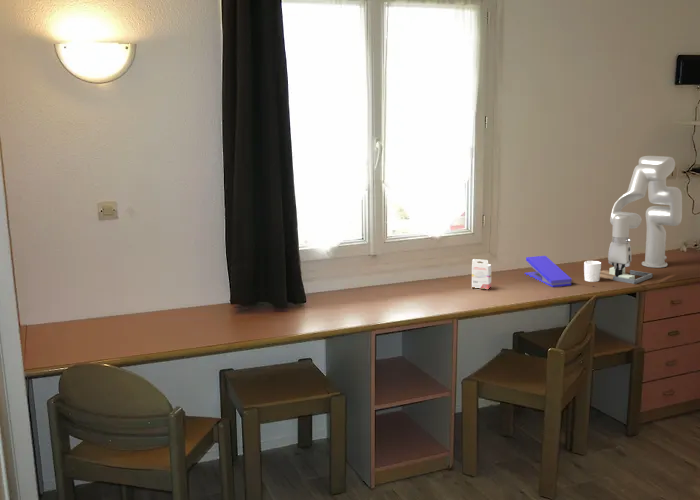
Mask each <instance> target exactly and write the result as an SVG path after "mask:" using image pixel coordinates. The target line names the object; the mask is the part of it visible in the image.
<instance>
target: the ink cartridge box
mask: <svg viewBox="0 0 700 500" xmlns="http://www.w3.org/2000/svg"><path fill="white" fill-rule="evenodd" d="M480 262H481V263H480ZM472 287H475V288H485V289H489V288H490V287H491V288H492V264H489V260H488V259H479V258H478V259H476V258H473V259H472V260H471V288H472ZM491 288H490V289H491ZM490 289H489V290H490Z"/></svg>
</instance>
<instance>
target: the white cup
mask: <svg viewBox="0 0 700 500" xmlns="http://www.w3.org/2000/svg"><path fill="white" fill-rule="evenodd" d="M601 268H602V261H599V260H586V261H584V262H583V273H584V274H583V276H584V281H585V282H590V283H595V282H599V281H600V279H601V278H600V271H602V270H601Z"/></svg>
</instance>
